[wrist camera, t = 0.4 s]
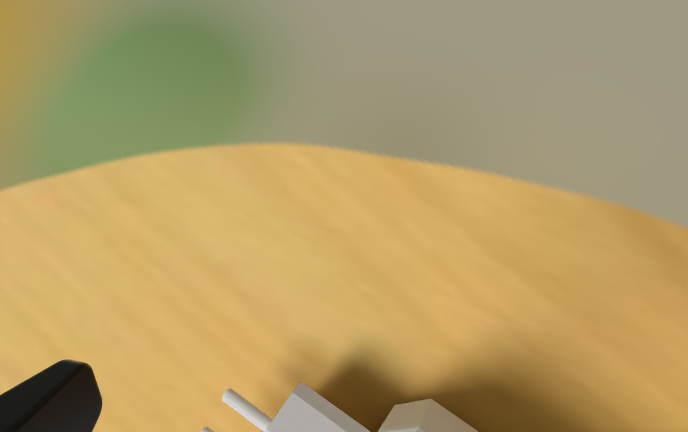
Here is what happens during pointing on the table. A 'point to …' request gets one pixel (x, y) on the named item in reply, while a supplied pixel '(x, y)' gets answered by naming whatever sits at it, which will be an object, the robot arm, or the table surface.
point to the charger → (343, 415)
